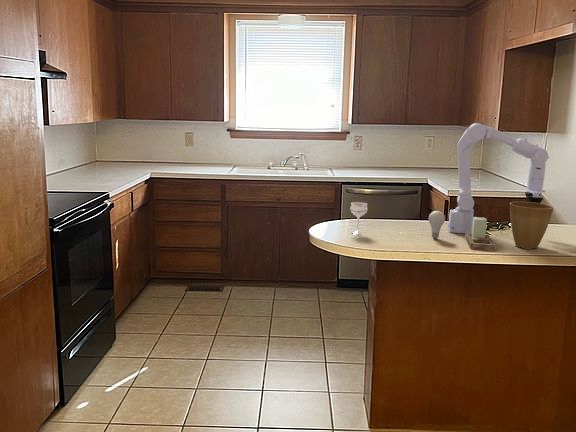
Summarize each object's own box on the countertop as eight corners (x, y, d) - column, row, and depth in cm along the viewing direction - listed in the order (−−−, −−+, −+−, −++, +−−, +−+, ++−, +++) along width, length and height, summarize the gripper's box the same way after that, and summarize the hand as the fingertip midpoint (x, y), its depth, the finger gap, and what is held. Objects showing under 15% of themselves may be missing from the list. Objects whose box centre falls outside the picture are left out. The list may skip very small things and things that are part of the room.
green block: (472, 242, 211) (474, 219, 209) (471, 239, 215) (473, 216, 213) (484, 243, 210) (486, 220, 208) (482, 240, 215) (485, 217, 213)
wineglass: (358, 235, 216) (359, 205, 213) (345, 232, 221) (346, 202, 218) (369, 233, 220) (371, 203, 218) (356, 230, 225) (358, 201, 223)
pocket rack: (470, 248, 201) (470, 243, 201) (464, 237, 218) (465, 232, 217) (495, 250, 200) (495, 245, 199) (487, 239, 216) (488, 234, 216)
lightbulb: (432, 235, 219) (434, 208, 217) (446, 238, 215) (448, 211, 213) (423, 238, 215) (426, 210, 213) (437, 241, 211) (440, 213, 208)
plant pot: (553, 253, 198) (559, 209, 195) (509, 250, 201) (514, 207, 197) (541, 243, 213) (547, 202, 209) (501, 240, 215) (505, 200, 212)
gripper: (549, 181, 209) (544, 216, 212) (544, 177, 223) (540, 210, 226) (529, 180, 211) (525, 215, 214) (525, 175, 225) (521, 208, 228)
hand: (531, 212), depth 220 cm, fingers open, 7 cm apart
